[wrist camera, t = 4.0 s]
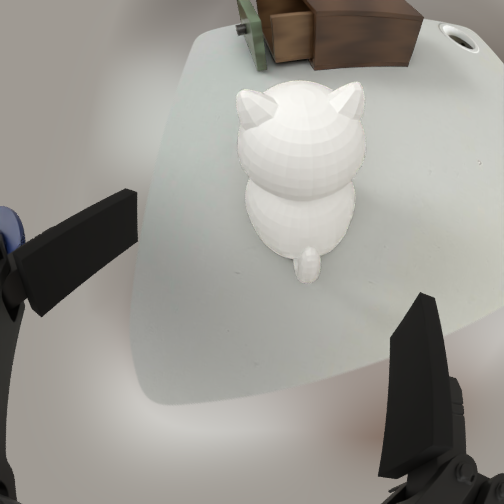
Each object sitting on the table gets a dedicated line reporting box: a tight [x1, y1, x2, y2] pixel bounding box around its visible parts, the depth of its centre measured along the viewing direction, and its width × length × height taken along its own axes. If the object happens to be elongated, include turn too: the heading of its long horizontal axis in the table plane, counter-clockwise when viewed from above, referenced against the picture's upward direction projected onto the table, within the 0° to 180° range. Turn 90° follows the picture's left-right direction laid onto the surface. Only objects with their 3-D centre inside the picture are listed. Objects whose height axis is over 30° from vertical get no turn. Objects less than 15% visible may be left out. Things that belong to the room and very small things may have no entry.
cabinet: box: [303, 0, 424, 70], centre depth 28 cm, size 15×12×10 cm
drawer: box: [236, 0, 314, 71], centre depth 29 cm, size 15×10×8 cm
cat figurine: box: [236, 80, 366, 284], centre depth 19 cm, size 9×12×15 cm
